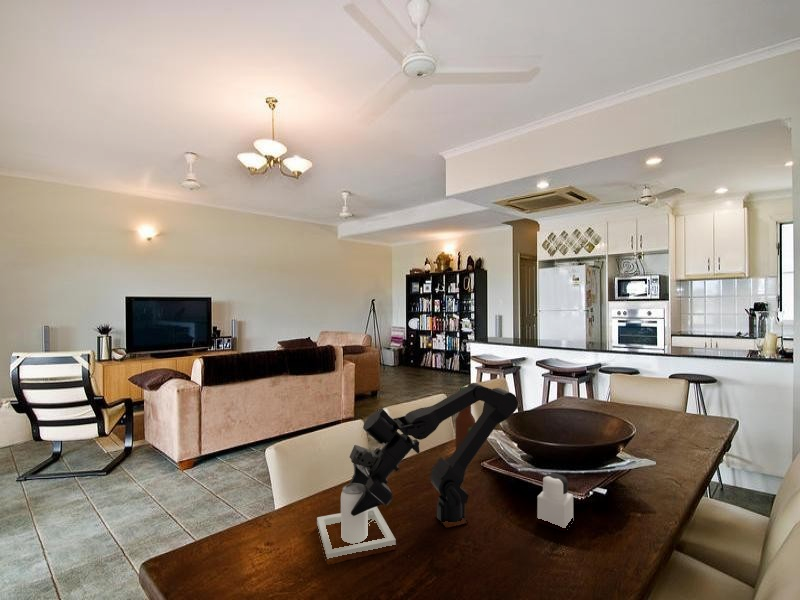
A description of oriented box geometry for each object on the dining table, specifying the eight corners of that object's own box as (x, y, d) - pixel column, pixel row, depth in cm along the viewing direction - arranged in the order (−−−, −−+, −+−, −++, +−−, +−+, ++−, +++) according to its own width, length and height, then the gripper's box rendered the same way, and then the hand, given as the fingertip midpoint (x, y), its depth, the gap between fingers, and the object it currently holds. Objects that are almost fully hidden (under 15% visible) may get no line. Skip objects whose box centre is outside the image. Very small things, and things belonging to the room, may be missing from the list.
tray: (376, 515, 111) (376, 506, 111) (395, 550, 96) (395, 539, 96) (317, 527, 106) (316, 517, 106) (327, 565, 91) (326, 554, 91)
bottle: (476, 458, 150) (476, 389, 150) (456, 457, 150) (456, 389, 150) (473, 450, 157) (473, 385, 157) (454, 450, 157) (454, 385, 157)
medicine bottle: (546, 512, 112) (546, 468, 112) (573, 521, 108) (573, 475, 108) (536, 523, 107) (536, 477, 107) (564, 533, 102) (564, 485, 102)
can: (341, 547, 96) (341, 496, 96) (340, 531, 102) (339, 483, 102) (369, 543, 97) (369, 493, 97) (366, 528, 104) (365, 481, 103)
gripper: (361, 423, 111) (320, 469, 108) (378, 447, 93) (329, 504, 90) (389, 449, 113) (350, 495, 110) (411, 477, 95) (365, 533, 92)
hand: (348, 505), depth 100 cm, fingers open, 9 cm apart
